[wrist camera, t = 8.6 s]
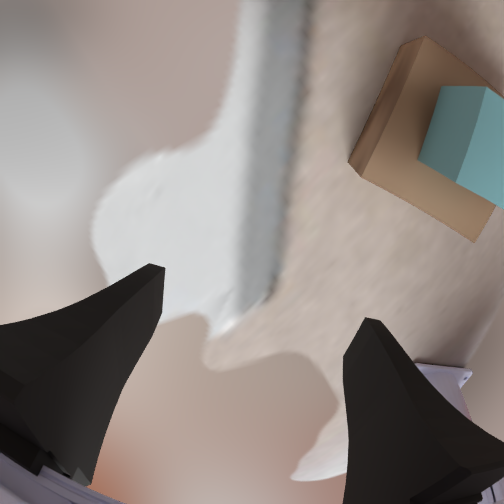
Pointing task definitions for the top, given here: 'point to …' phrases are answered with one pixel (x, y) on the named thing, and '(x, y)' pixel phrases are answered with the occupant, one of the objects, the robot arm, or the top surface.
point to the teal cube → (468, 140)
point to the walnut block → (418, 137)
